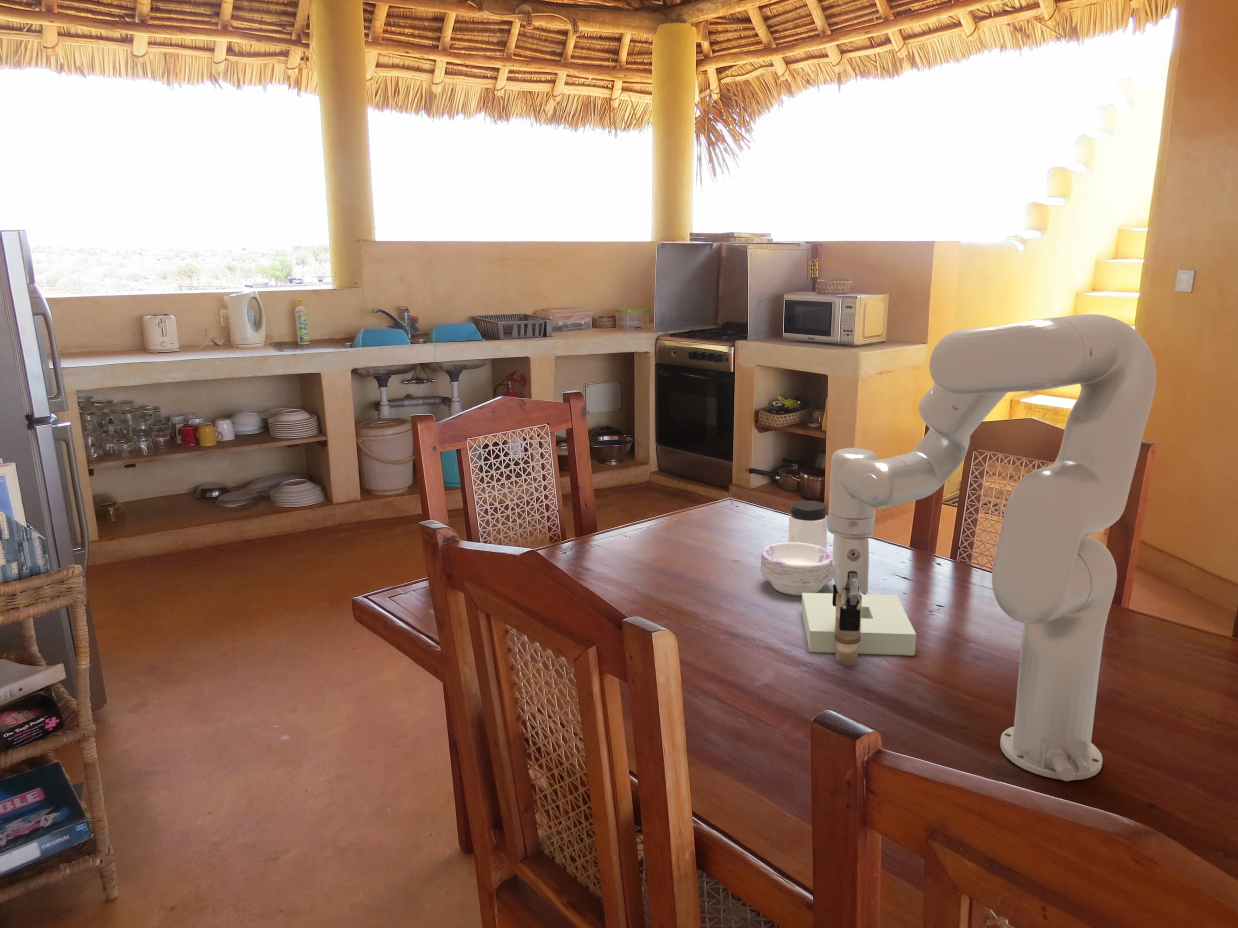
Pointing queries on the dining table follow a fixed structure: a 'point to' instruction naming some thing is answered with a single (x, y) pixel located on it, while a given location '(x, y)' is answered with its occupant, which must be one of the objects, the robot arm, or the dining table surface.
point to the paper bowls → (797, 567)
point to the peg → (846, 638)
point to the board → (879, 625)
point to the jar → (808, 523)
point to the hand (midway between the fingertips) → (845, 617)
